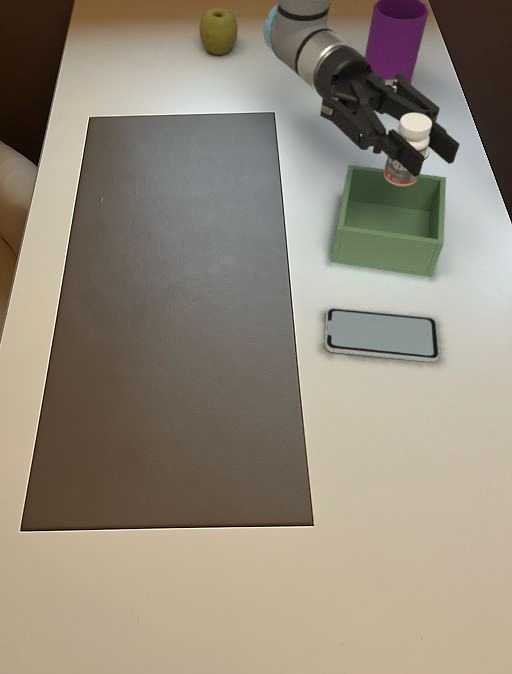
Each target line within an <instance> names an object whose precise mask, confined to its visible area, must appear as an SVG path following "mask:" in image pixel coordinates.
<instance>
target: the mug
mask: <svg viewBox="0 0 512 674" xmlns="http://www.w3.org/2000/svg"><path fill="white" fill-rule="evenodd" d="M428 16H429V10H428V6H427V4H426V3H424V2H423V1H421V0H377V2H375V3H374V4H373V8H372V14H371V20H370V25H369V30H368V36H367V42H366V48H365V54H364V57H365V58H366V59H367V60H368V62H369V64H370V66H371V69H372V71H373V73H374V74H376V75H379V76H382V77H383V78H384V79H385V80H393V79H394V78H395V75H396V74H398V73H400V74H403V75H404V77H405V79H406V81H407V82H408V83H409V84H410V85H412V80H413V76H414V72H415V68H416V64H417V60H418V55H419V51H420V48H421V44H422V40H423V36H424V32H425V28H426V23H427V21H428Z"/></svg>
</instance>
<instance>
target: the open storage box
mask: <svg viewBox="0 0 512 674" xmlns="http://www.w3.org/2000/svg"><path fill="white" fill-rule="evenodd" d="M384 169H385V168H376V167H369V166H362V165H361V166H360V165H354V164H348V165H347V169H346V175H345V182H344V185H343V186H344V187H343V193H342V198H341V202H340V203H341V204H340V210H339V215H338V221H337V227H336V231H335V232H336V233H335V238H334V244H333V249H332V255H331V260H330V263H333V264H340V265H345V266H352V267H359V268H365V269H372V270H379V271H384V272H385V271H386V272H392V273H393V272H394V273H399V274H405V275H413V276H419V277H425V278H426V277H427V278H432V275H433V274H434V271H435V268H436V265H437V263H438V260H439V257H440V255H441V252H442V251H443V247H444V244H445V243H444V242H445V221H446V220H445V216H446V191H447V190H446V189H447V187H446V186H447V177H446V176H438V175H431V174H424V173H423V174H422V173H420V174H419V177H418V179H417V181H416V182H415V183H413V184H411V185H408V186H397V185H394V184H392V183H390V182H389V181H387V180H386V178H385V177H384Z"/></svg>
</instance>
